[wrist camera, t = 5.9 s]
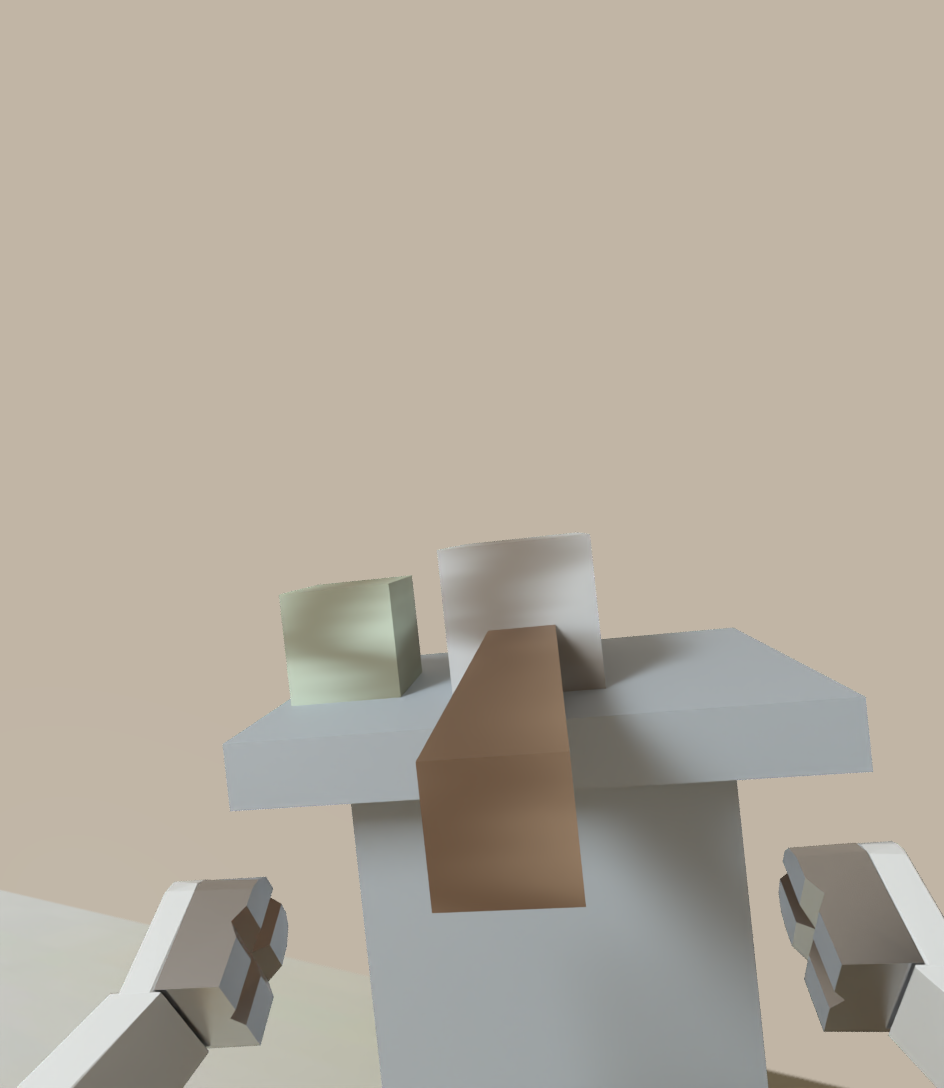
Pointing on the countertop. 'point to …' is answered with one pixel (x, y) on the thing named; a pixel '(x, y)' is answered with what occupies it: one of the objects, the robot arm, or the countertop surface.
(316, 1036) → the countertop surface
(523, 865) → the steel-headed mallet
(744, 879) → the grey pedestal
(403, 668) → the sage cube
